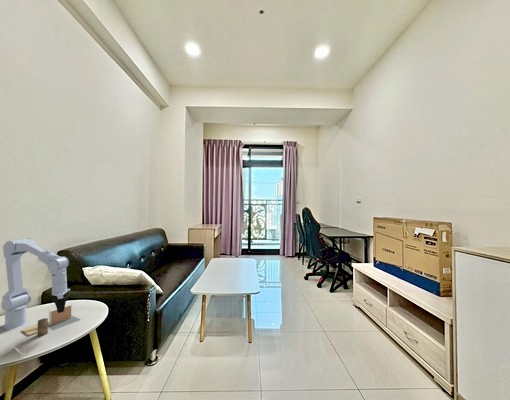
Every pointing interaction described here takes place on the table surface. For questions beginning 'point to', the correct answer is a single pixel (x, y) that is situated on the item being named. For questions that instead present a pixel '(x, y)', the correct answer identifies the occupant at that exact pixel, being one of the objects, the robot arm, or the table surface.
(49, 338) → the table surface
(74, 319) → the mat
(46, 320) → the dowel
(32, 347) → the table surface
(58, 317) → the tile
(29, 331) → the board
